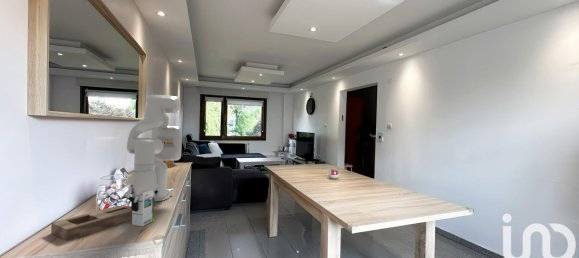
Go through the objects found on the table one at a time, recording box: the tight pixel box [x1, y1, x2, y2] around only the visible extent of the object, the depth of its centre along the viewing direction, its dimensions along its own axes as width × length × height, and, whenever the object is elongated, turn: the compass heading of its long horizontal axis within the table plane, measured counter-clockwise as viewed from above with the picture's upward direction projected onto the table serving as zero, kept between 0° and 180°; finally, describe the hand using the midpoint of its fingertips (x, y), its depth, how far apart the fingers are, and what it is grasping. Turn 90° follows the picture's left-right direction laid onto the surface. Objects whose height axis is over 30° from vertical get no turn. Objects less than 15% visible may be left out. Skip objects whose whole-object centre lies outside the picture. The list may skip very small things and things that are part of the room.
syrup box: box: [131, 190, 154, 227], centre depth 105 cm, size 6×6×14 cm
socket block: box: [50, 204, 132, 241], centre depth 102 cm, size 12×26×4 cm, turn 155°
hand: (143, 208), depth 105 cm, fingers closed on syrup box, 6 cm apart
